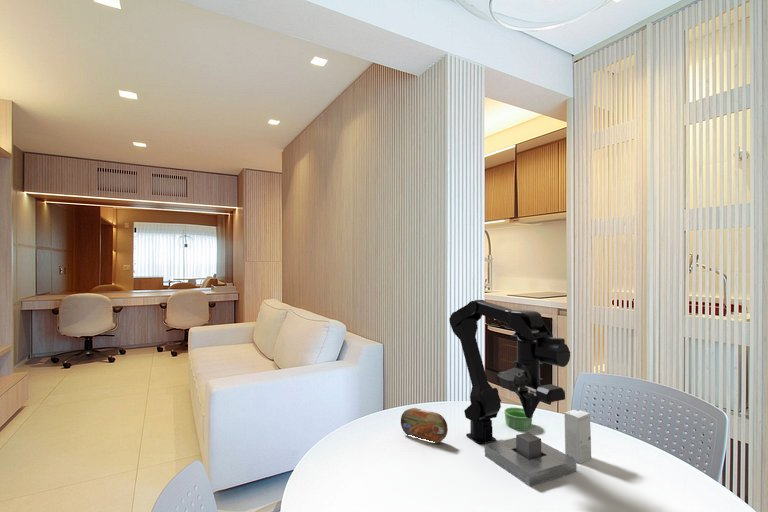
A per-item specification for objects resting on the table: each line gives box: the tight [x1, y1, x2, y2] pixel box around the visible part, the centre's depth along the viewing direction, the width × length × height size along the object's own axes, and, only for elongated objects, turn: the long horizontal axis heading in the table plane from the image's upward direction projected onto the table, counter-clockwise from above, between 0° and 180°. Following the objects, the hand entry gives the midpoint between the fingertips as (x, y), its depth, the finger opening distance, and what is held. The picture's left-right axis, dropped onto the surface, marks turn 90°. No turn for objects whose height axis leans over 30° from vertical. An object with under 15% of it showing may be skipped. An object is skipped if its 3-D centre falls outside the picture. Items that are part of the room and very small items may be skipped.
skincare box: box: [564, 408, 592, 464], centre depth 102 cm, size 6×4×12 cm
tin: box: [400, 407, 449, 444], centre depth 113 cm, size 15×3×8 cm, turn 56°
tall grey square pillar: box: [515, 431, 542, 460], centre depth 99 cm, size 4×4×7 cm
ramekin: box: [503, 406, 534, 431], centre depth 124 cm, size 9×9×4 cm
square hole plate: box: [484, 437, 578, 487], centre depth 99 cm, size 16×16×3 cm
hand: (528, 417), depth 99 cm, fingers closed
